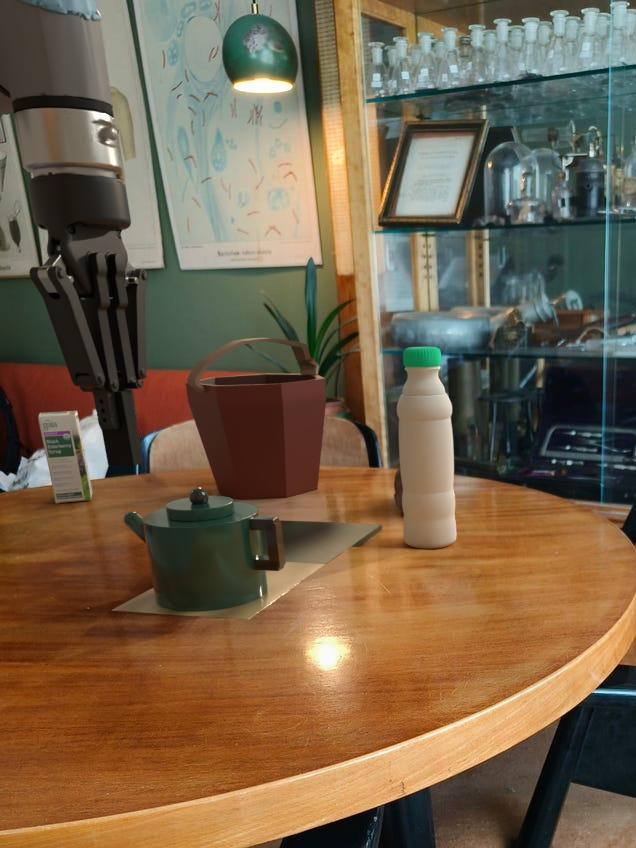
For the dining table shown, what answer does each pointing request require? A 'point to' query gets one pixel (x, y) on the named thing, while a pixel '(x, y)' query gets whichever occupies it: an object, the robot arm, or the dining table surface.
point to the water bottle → (426, 452)
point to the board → (303, 557)
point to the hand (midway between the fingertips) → (125, 463)
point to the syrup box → (65, 456)
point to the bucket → (260, 425)
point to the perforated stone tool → (398, 489)
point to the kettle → (208, 551)
